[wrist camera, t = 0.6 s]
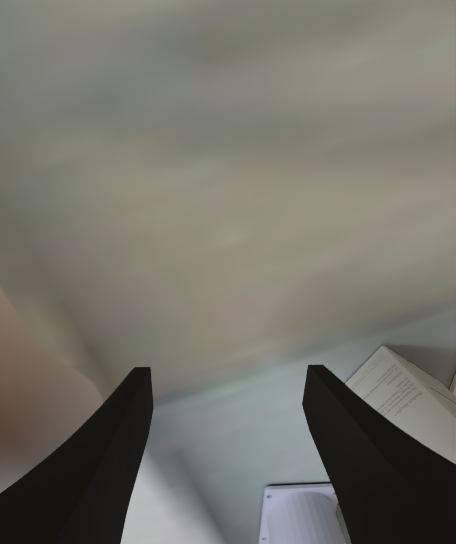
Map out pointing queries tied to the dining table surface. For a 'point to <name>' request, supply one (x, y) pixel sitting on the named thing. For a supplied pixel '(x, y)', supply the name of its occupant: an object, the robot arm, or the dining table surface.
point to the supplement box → (409, 400)
